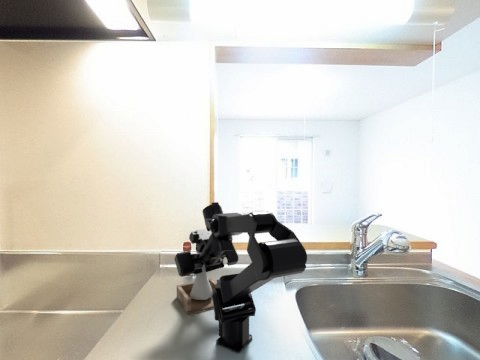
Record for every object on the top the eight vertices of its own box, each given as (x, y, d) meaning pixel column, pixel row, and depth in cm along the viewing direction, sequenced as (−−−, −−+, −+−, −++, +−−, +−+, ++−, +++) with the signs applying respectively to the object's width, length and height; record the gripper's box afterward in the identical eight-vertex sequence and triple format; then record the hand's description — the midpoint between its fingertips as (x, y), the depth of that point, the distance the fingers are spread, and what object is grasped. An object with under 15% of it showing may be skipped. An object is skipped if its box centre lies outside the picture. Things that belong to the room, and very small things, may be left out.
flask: (185, 299, 78) (185, 266, 78) (195, 289, 85) (195, 258, 85) (207, 302, 76) (207, 268, 76) (216, 291, 83) (216, 260, 83)
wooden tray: (227, 304, 78) (227, 292, 78) (188, 314, 73) (188, 302, 72) (211, 288, 89) (211, 278, 89) (176, 296, 83) (176, 285, 83)
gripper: (233, 218, 82) (216, 245, 91) (176, 225, 71) (163, 255, 81) (248, 249, 76) (228, 275, 85) (188, 261, 65) (173, 289, 74)
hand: (199, 272), depth 81 cm, fingers closed on flask, 3 cm apart
